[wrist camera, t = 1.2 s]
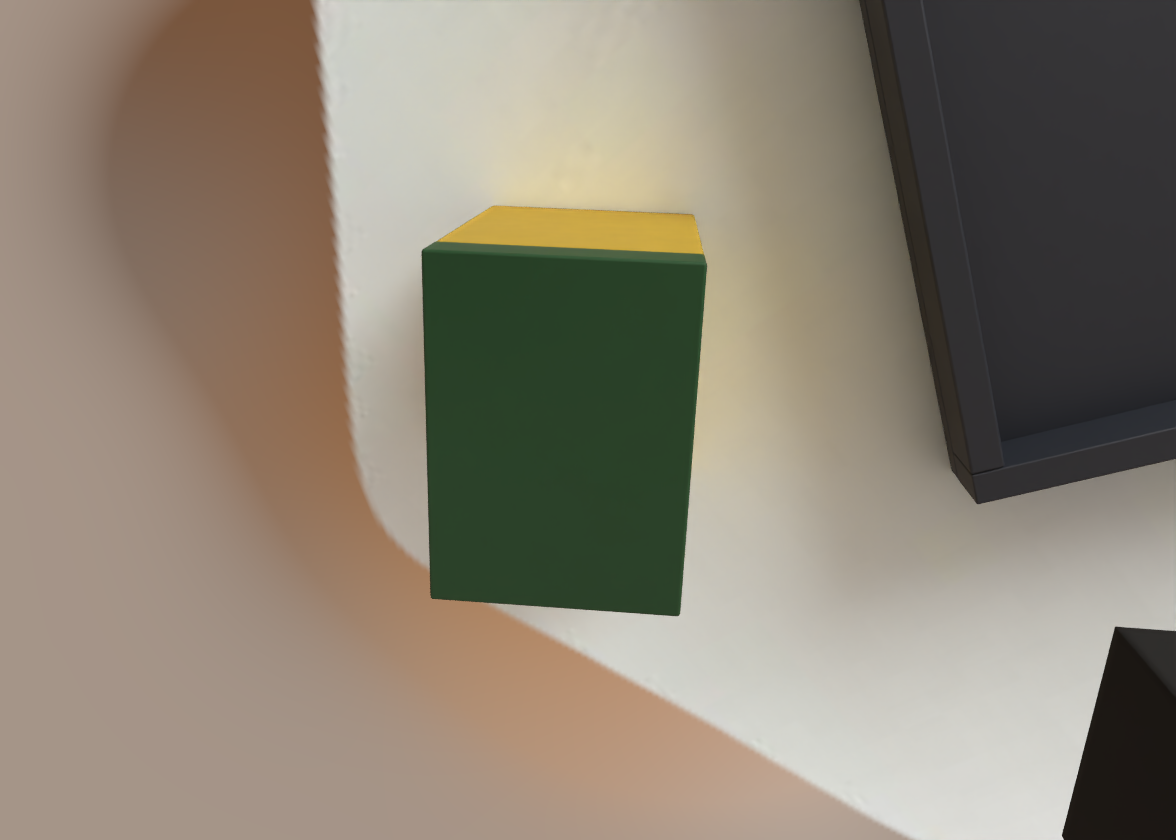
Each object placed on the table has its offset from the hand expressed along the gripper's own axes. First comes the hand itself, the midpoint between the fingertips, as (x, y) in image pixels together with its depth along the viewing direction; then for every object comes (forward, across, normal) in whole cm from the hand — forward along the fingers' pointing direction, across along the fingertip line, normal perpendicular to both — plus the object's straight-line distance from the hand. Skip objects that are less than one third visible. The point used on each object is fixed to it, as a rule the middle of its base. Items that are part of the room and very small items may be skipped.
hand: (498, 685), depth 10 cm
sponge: (+14, 0, 0) cm, 14 cm away
